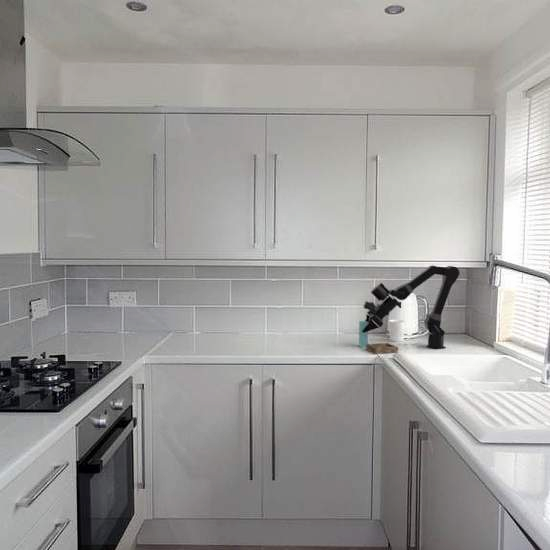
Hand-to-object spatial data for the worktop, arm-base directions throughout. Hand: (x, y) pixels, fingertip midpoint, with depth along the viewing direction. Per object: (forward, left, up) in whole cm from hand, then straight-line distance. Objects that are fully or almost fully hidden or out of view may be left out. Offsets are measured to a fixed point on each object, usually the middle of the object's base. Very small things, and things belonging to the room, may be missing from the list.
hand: (361, 330), depth 247 cm
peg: (-1, 0, -8) cm, 8 cm away
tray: (-3, +12, -8) cm, 15 cm away
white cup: (-25, -6, -8) cm, 27 cm away
